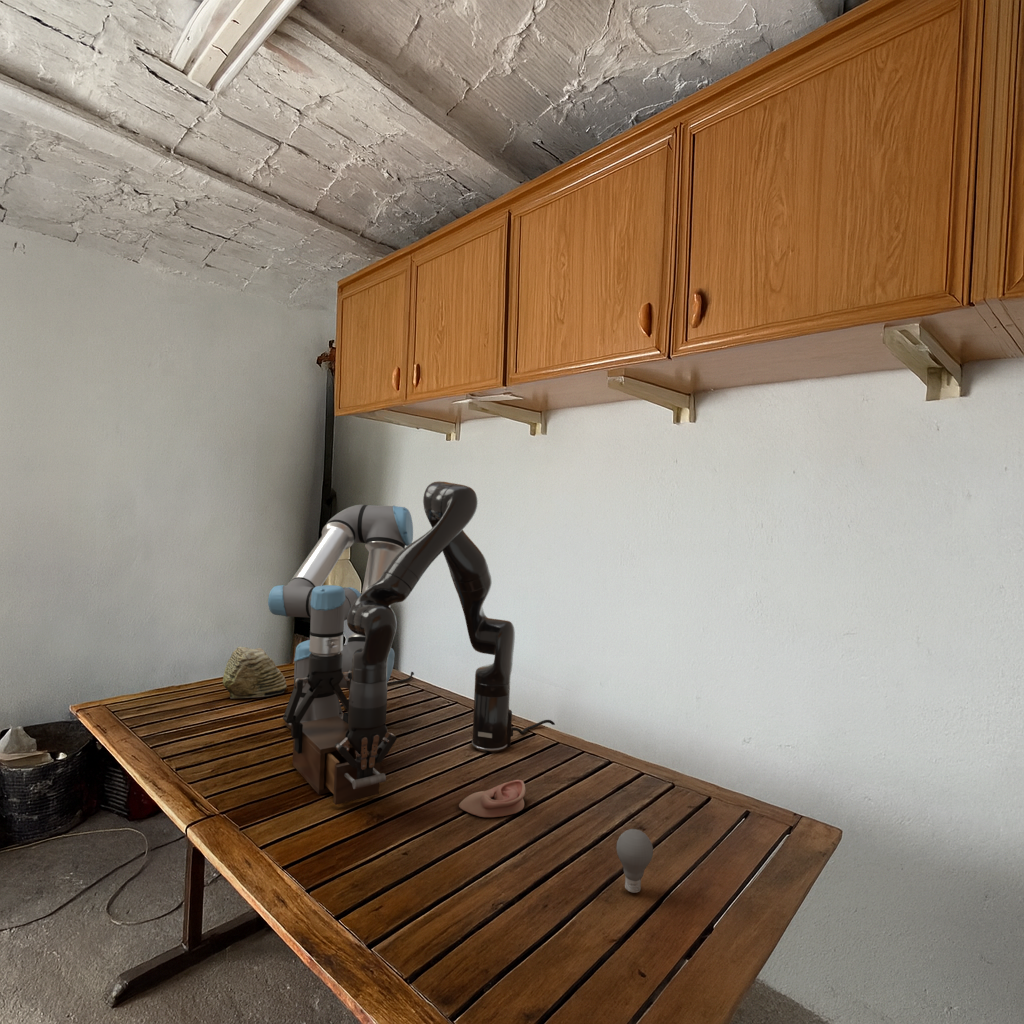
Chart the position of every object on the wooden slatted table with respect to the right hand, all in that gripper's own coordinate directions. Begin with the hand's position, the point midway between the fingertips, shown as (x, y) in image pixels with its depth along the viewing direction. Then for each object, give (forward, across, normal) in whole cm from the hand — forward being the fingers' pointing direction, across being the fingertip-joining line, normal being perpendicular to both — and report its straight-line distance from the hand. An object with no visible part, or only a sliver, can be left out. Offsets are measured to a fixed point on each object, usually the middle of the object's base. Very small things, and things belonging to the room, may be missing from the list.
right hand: (364, 784), depth 129 cm
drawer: (+4, 0, +8) cm, 9 cm away
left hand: (+1, 0, +24) cm, 24 cm away
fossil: (+7, 0, +86) cm, 86 cm away
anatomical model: (+5, +24, -12) cm, 27 cm away
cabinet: (+6, 0, +20) cm, 21 cm away
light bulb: (+5, +27, -48) cm, 56 cm away
